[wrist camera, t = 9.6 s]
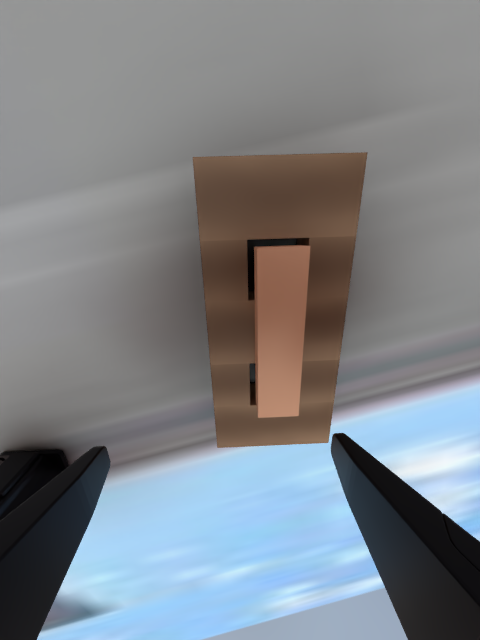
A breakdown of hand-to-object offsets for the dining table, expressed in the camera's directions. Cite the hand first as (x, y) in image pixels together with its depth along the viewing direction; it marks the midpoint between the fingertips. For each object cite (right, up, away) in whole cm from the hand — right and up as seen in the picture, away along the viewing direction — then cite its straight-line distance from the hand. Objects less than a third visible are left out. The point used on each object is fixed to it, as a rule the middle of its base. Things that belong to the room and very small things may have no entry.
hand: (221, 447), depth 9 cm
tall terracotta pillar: (+3, +5, +10) cm, 12 cm away
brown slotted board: (+3, +5, +10) cm, 12 cm away
